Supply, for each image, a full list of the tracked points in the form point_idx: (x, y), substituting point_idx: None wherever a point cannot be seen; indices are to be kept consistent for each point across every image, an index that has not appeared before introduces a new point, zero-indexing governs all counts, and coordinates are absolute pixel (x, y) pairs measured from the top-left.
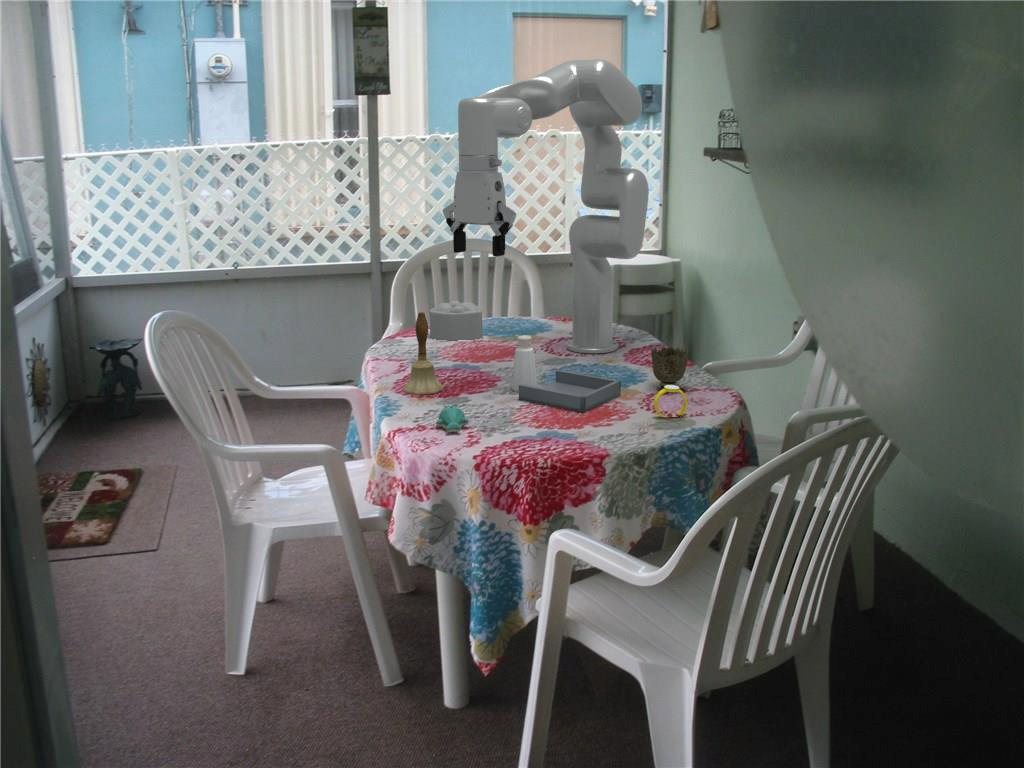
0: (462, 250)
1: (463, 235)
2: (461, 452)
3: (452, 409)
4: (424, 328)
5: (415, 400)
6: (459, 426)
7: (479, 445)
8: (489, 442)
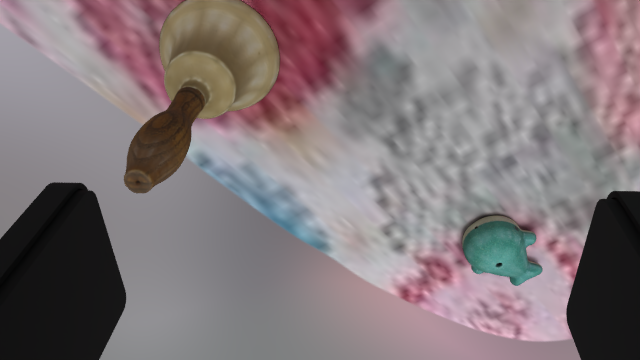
0: (104, 241)
1: (11, 348)
2: None
3: (505, 267)
4: (182, 158)
5: (284, 142)
6: (539, 272)
7: None
8: None
